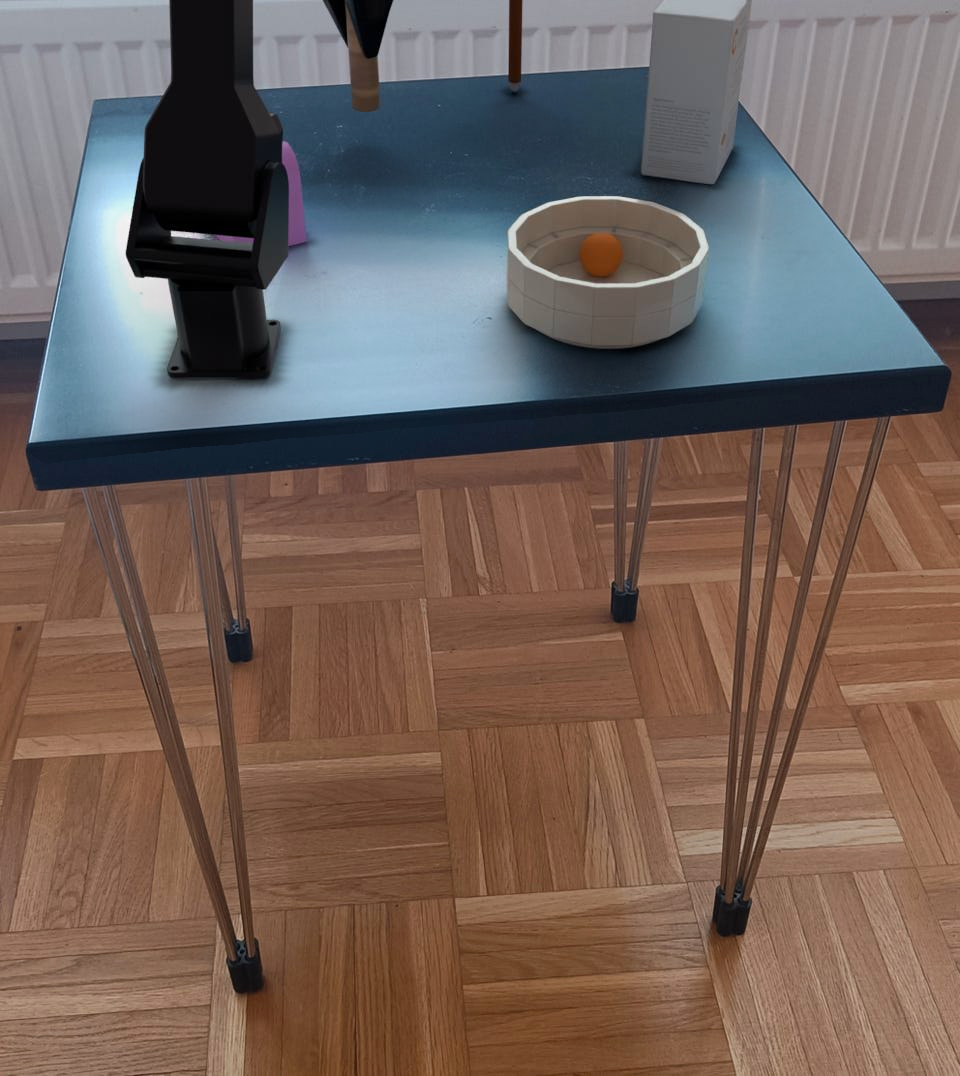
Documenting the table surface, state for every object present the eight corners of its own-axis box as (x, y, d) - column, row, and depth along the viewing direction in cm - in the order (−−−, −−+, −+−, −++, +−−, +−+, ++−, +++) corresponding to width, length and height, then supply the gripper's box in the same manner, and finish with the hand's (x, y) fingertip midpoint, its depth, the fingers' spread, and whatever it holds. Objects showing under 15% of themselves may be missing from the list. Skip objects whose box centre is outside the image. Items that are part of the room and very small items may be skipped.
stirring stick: (379, 112, 105) (372, -12, 99) (351, 112, 105) (342, -12, 99) (381, 101, 107) (374, -21, 101) (353, 101, 107) (344, -21, 101)
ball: (623, 284, 86) (626, 244, 84) (579, 284, 86) (582, 245, 84) (619, 264, 89) (622, 225, 87) (577, 264, 89) (579, 225, 87)
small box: (661, 138, 108) (676, -20, 100) (734, 148, 106) (755, -12, 98) (637, 175, 102) (651, 10, 94) (714, 186, 100) (735, 19, 92)
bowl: (712, 356, 81) (722, 287, 78) (509, 357, 81) (510, 288, 78) (685, 260, 91) (693, 195, 88) (504, 260, 91) (505, 196, 88)
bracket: (306, 241, 93) (297, 151, 89) (236, 259, 91) (223, 168, 87) (242, 178, 102) (231, 93, 97) (176, 192, 100) (162, 107, 95)
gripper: (510, -151, 91) (507, 65, 101) (375, -191, 103) (385, 6, 113) (380, -130, 86) (391, 95, 96) (254, -175, 98) (276, 29, 108)
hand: (362, 52), depth 103 cm, fingers closed on stirring stick, 2 cm apart
